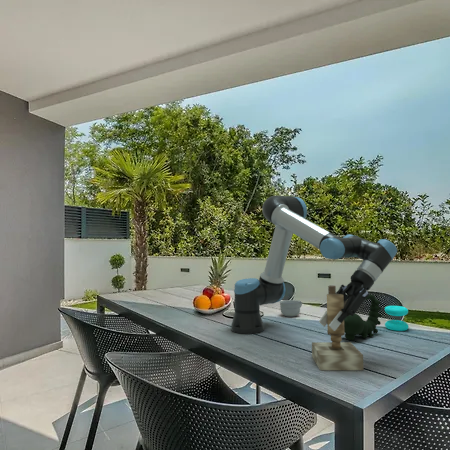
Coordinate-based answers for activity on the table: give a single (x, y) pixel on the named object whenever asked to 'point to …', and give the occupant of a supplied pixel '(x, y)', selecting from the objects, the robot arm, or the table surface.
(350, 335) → the toy figurine
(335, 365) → the birch socket block
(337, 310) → the oak peg
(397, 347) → the table surface
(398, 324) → the cyan spool
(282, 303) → the teacup
